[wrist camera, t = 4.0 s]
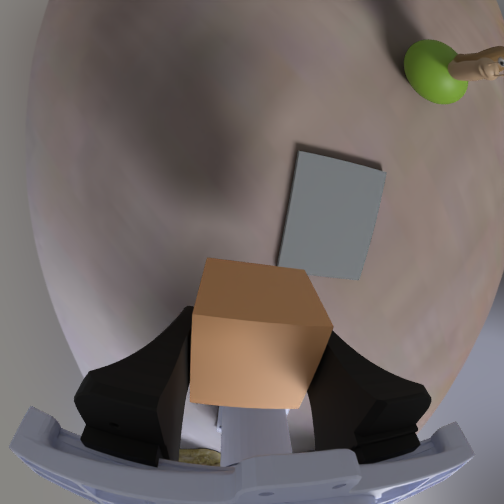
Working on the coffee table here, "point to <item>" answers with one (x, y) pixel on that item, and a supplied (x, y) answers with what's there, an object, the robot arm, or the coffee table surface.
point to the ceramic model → (200, 457)
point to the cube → (255, 336)
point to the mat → (330, 216)
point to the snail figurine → (448, 69)
